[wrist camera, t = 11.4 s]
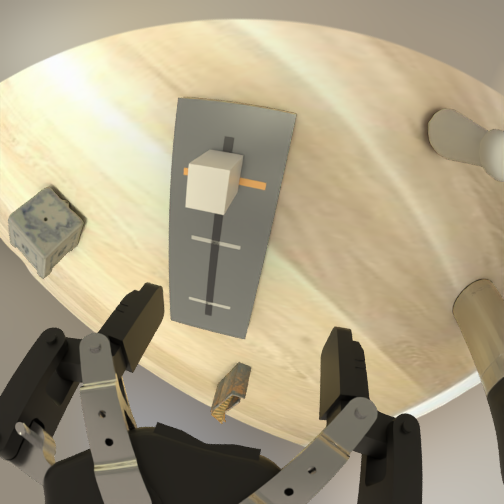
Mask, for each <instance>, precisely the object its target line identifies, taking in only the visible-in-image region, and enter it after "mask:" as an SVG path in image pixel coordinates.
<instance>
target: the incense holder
mask: <svg viewBox="0 0 504 504" xmlns="http://www.w3.org/2000/svg"><path fill="white" fill-rule="evenodd" d="M8 224H9V225H8V226H9V236H10V243H11V245H12V246H14V247H15V248H16V247H17V248H18V249H19V250H20V251H21V252H22V253H23V255H24V256H25V257H26V259H27V260H28V261H29V262H30V263H31V264H32V265H33V266H34V268H35V269H36V270H37V273H38V275H39V276H40V277H41V278H42V279H44V278H45V277H46V276H48V275H49V274H50V273H51V272H52V268H53V267H54V266H55V265H56V264H57V263H58V262H59V261H60V260H61V259H62V258H63V257H64V256H65V255H66V254H67V253H68V252H70V251H72V250H73V248H75V247H76V246H77V245H78V241H79V237H80V233H81V230H82V227H83V224H84V222H83V220H82V219H81V218H80V217H79V216H78V215H77V214H76V213H75V212H73V211H72V210H71V209H70V208H69V202H68V201H66V200H62V199H60V198H59V197H58V195H57V194H56V193H55V192H54V191H53V190H52V189H51V188H50V187H46V188H44V189H43V190H42V191H40V192H39V193H38V194H37V195H35V196H34V197H33V198H31V199H30V200H29V201H27V202H26V203H25V204H23V205H22V206H21V207H20V208H18V209H17V210H16V211H15V212H13V213H12V214H11V215H10V216H9V218H8Z"/></svg>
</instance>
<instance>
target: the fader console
mask: <svg viewBox="0 0 504 504" xmlns="http://www.w3.org/2000/svg"><path fill="white" fill-rule="evenodd" d="M295 119H296V113H292V112H288V111H283V110H278V109H273V108H268V107H262V106H256V105H250V104H244V103H237V102H230V101H222V100H213V99H203V98H192V97H184V98H178V104H177V113H176V122H175V131H174V142H173V154H172V168H171V185H170V209H169V291H170V315H171V320H172V321H176V322H179V323H183V324H186V325H190V326H193V327H197V328H201V329H204V330H208V331H212V332H216V333H220V334H224V335H228V336H232V337H237V338H241V339H245V337H246V333H247V329H248V325H249V321H250V316H251V312H252V308H253V304H254V300H255V296H256V291H257V287H258V283H259V279H260V275H261V270H262V266H263V262H264V258H265V253H266V249H267V245H268V240H269V236H270V232H271V227H272V223H273V219H274V214H275V210H276V206H277V201H278V197H279V192H280V188H281V183H282V179H283V174H284V170H285V165H286V161H287V156H288V152H289V147H290V142H291V138H292V133H293V129H294V124H295ZM208 150H216V151H222V152H228V153H234V154H240V155H244V156H243V162H242V168H241V174H240V180H239V186H238V192H237V194H236V195H235V197H234V199H233V200H232V202H231V204H230V205H229V207H228V209H227V211H226V212H225V214H224V215H221V214H216V213H211V212H207V211H202V210H197V209H192V208H187V207H185V206H186V191H187V179H188V167H189V163H190V162H192V161H193V160H195V159H196V158H198V157H199V156H201V155H202V154H204V153H205V152H207V151H208Z"/></svg>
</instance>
